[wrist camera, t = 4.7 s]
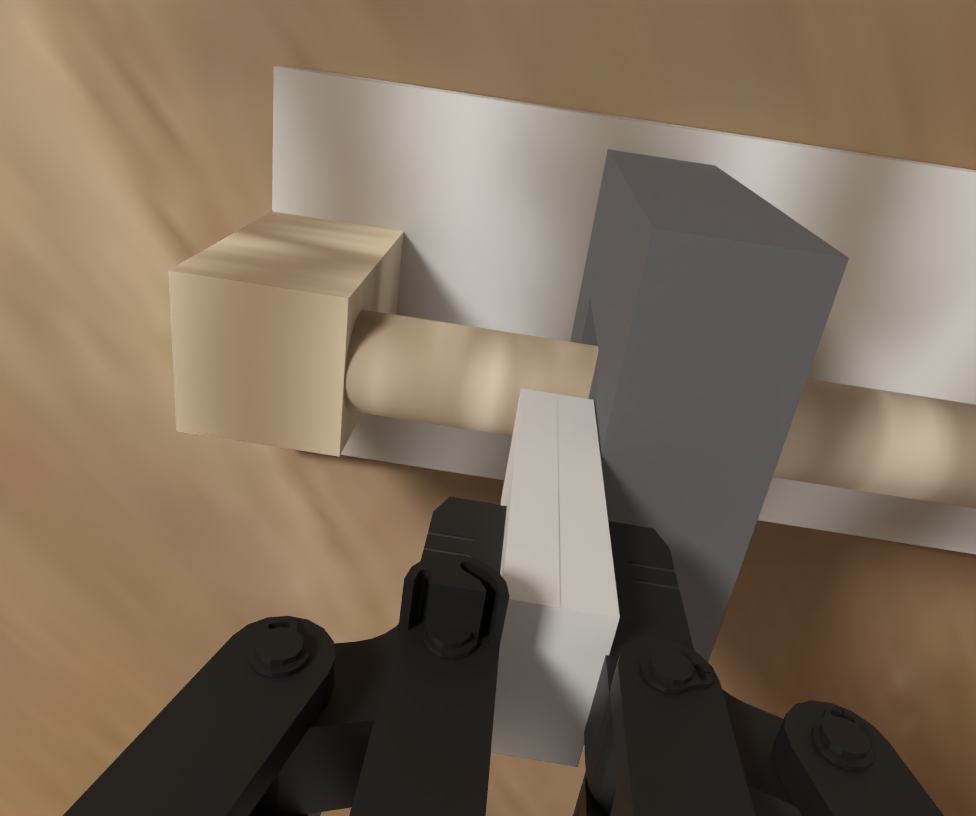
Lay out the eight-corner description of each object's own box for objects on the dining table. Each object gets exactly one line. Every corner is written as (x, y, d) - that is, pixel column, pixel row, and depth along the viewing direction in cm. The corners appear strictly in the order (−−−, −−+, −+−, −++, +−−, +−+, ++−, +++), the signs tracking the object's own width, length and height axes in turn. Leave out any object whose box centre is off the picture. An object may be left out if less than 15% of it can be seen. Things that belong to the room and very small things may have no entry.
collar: (545, 470, 25) (540, 715, 16) (607, 148, 21) (653, 227, 11) (633, 484, 25) (681, 738, 16) (715, 165, 21) (848, 257, 11)
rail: (279, 430, 27) (182, 565, 20) (285, 65, 22) (157, 72, 15) (1171, 570, 27) (1395, 758, 20) (1393, 233, 21) (1808, 322, 14)
